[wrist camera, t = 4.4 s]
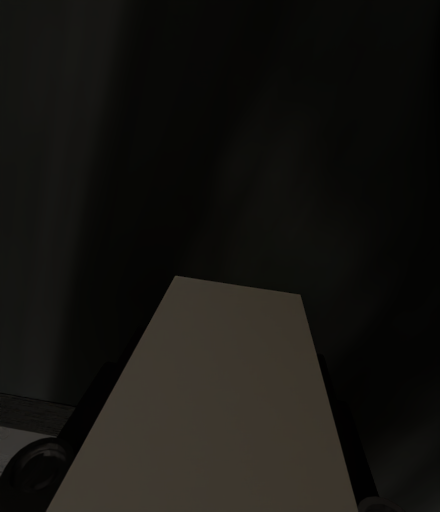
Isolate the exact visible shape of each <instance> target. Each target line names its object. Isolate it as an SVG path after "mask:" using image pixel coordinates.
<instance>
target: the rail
mask: <svg viewBox="0 0 440 512" xmlns="http://www.w3.org/2000/svg"><path fill="white" fill-rule="evenodd" d="M75 408H76V407H73V406H67V405H62V404H56V403H51V402H45V401H39V400H34V399H28V398H22V397H17V396H11V395H6V394H0V476H1V474H2V472H3V470H4V468H5V467H6V465H7V464H8V462H9V461H10V459H11V458H12V457H13V456H14V455H15V454H16V453H17V452H18V451H19V450H20V449H22V448H23V447H25V446H26V445H28V444H29V443H31V442H34V441H36V440H39V439H42V438H48V437H57V436H58V434H59V433H60V431H61V430H62V428H63V427H64V425H65V424H66V422H67V420H68V419H69V417H70V416H71V414H72V413H73V411H74V410H75Z"/></svg>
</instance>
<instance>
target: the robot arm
mask: <svg viewBox="0 0 440 512" xmlns="http://www.w3.org/2000/svg"><path fill="white" fill-rule="evenodd" d="M146 328H147V327H146V326H139V327H138V328H137V330H136V331H135V333H134V335H133V336H132V338H131V340H130V342H129V343H128V345H127V347H126V348H125V350H124V352H123V353H122V355H121V357H120V358H119V360H118V362H117V363H112V362H106V363H105V364H104V365H103V366H102V368H101V369H100V371H99V372H98V374H97V376H96V377H95V379H94V380H93V382H92V383H91V385H90V386H89V388H88V389H87V391H86V393H85V394H84V396H83V397H82V399H81V400H80V402H79V403H78V405H77V406H76V408H75V410H74V411H73V413H72V414H71V416H70V417H69V419H68V420H67V422H66V424H65V425H64V427H63V428H62V430H61V431H60V433H59V434H58V436H57V437H48V438H42V439H39V440H36V441H34V442H31V443H29V444H28V445H26V446H25V447H23V448H22V449H20V450H19V451H18V452H17V453H16V454H15V455H14V456H13V457H12V458H11V459H10V461H9V462H8V464H7V465H6V467H5V468H4V470H3V472H2V474H1V476H0V512H46V511H47V509H48V507H49V505H50V503H51V502H52V500H53V498H54V496H55V494H56V492H57V491H58V489H59V487H60V485H61V483H62V481H63V480H64V478H65V476H66V474H67V472H68V471H69V469H70V467H71V465H72V463H73V461H74V460H75V458H76V456H77V454H78V452H79V450H80V449H81V447H82V445H83V443H84V441H85V439H86V438H87V436H88V434H89V432H90V430H91V429H92V427H93V425H94V423H95V421H96V419H97V418H98V416H99V414H100V412H101V410H102V408H103V407H104V405H105V403H106V401H107V399H108V398H109V396H110V394H111V392H112V390H113V388H114V387H115V385H116V383H117V381H118V379H119V377H120V376H121V374H122V372H123V370H124V368H125V366H126V365H127V363H128V361H129V359H130V357H131V356H132V354H133V352H134V350H135V348H136V346H137V345H138V343H139V341H140V339H141V337H142V335H143V334H144V332H145V330H146ZM316 355H317V359H318V362H319V366H320V370H321V374H322V377H323V381H324V385H325V389H326V392H327V396H328V400H329V404H330V407H331V411H332V415H333V419H334V422H335V426H336V430H337V434H338V437H339V441H340V445H341V449H342V452H343V456H344V460H345V463H346V467H347V471H348V475H349V478H350V482H351V486H352V490H353V493H354V497H355V501H356V505H357V508H358V512H405V511H404V510H403V509H402V508H400V507H399V506H398V505H397V504H395V503H393V502H391V501H389V500H387V499H385V498H381V497H379V495H378V492H377V489H376V486H375V483H374V480H373V477H372V474H371V471H370V468H369V465H368V462H367V459H366V456H365V453H364V450H363V447H362V444H361V441H360V438H359V435H358V432H357V429H356V426H355V423H354V420H353V417H352V414H351V411H350V408H349V406H348V404H347V403H346V402H343V401H337V399H336V396H335V392H334V389H333V386H332V382H331V379H330V376H329V372H328V369H327V366H326V362H325V359H324V356H323V355H320V354H316Z"/></svg>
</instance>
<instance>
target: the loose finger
mask: <svg viewBox="0 0 440 512" xmlns="http://www.w3.org/2000/svg"><path fill="white" fill-rule="evenodd" d="M46 512H358V508H357V505H356V501H355V497H354V493H353V490H352V486H351V482H350V478H349V475H348V471H347V467H346V463H345V460H344V456H343V452H342V449H341V445H340V441H339V437H338V434H337V430H336V426H335V422H334V419H333V415H332V411H331V407H330V404H329V400H328V396H327V392H326V389H325V385H324V381H323V377H322V374H321V370H320V366H319V362H318V359H317V355H316V351H315V347H314V344H313V340H312V336H311V333H310V329H309V325H308V321H307V318H306V314H305V310H304V306H303V303H302V299H301V295H299V294H292V293H286V292H279V291H273V290H266V289H259V288H253V287H246V286H240V285H233V284H226V283H220V282H213V281H206V280H200V279H193V278H187V277H180V276H175V277H174V279H173V281H172V283H171V284H170V286H169V288H168V290H167V292H166V294H165V295H164V297H163V299H162V301H161V303H160V304H159V306H158V308H157V310H156V312H155V314H154V315H153V317H152V319H151V321H150V323H149V325H148V326H147V328H146V330H145V332H144V334H143V335H142V337H141V339H140V341H139V343H138V345H137V346H136V348H135V350H134V352H133V354H132V356H131V357H130V359H129V361H128V363H127V365H126V366H125V368H124V370H123V372H122V374H121V376H120V377H119V379H118V381H117V383H116V385H115V387H114V388H113V390H112V392H111V394H110V396H109V398H108V399H107V401H106V403H105V405H104V407H103V408H102V410H101V412H100V414H99V416H98V418H97V419H96V421H95V423H94V425H93V427H92V429H91V430H90V432H89V434H88V436H87V438H86V439H85V441H84V443H83V445H82V447H81V449H80V450H79V452H78V454H77V456H76V458H75V460H74V461H73V463H72V465H71V467H70V469H69V471H68V472H67V474H66V476H65V478H64V480H63V481H62V483H61V485H60V487H59V489H58V491H57V492H56V494H55V496H54V498H53V500H52V502H51V503H50V505H49V507H48V509H47V511H46Z"/></svg>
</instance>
